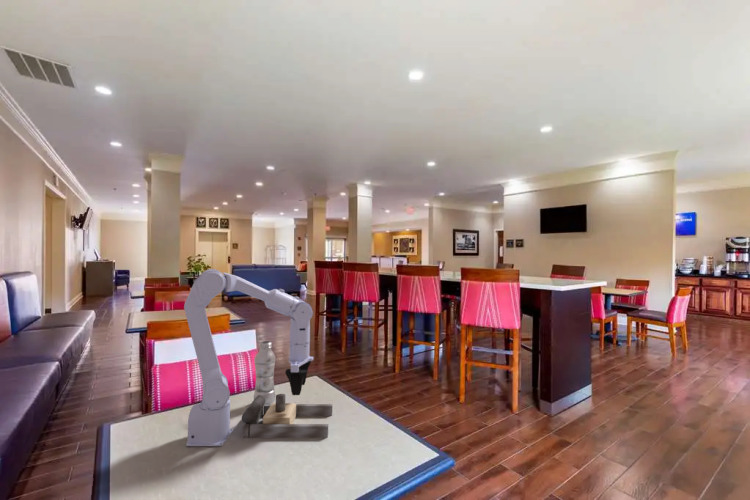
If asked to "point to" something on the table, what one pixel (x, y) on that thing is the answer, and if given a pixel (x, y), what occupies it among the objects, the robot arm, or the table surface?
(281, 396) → the tan wooden block
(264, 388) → the plastic bottle
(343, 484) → the table surface
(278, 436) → the bay
